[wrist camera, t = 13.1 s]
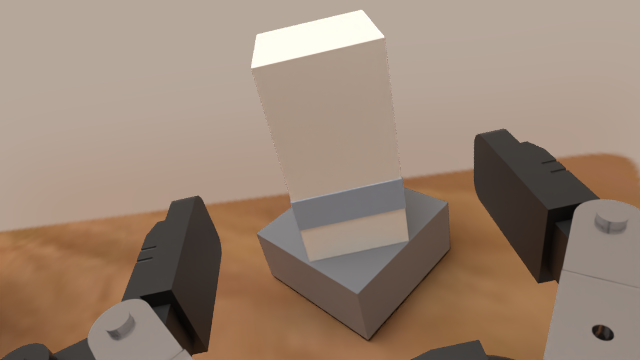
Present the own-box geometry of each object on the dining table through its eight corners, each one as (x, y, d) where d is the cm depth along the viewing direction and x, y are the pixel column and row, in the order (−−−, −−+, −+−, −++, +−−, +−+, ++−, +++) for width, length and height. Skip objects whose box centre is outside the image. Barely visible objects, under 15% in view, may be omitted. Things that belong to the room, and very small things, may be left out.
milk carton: (409, 241, 25) (386, 37, 18) (308, 262, 25) (249, 69, 18) (387, 184, 30) (362, 9, 23) (303, 202, 30) (255, 34, 24)
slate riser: (367, 339, 24) (357, 294, 22) (272, 274, 30) (256, 233, 28) (450, 247, 29) (448, 202, 27) (352, 206, 35) (344, 167, 33)
